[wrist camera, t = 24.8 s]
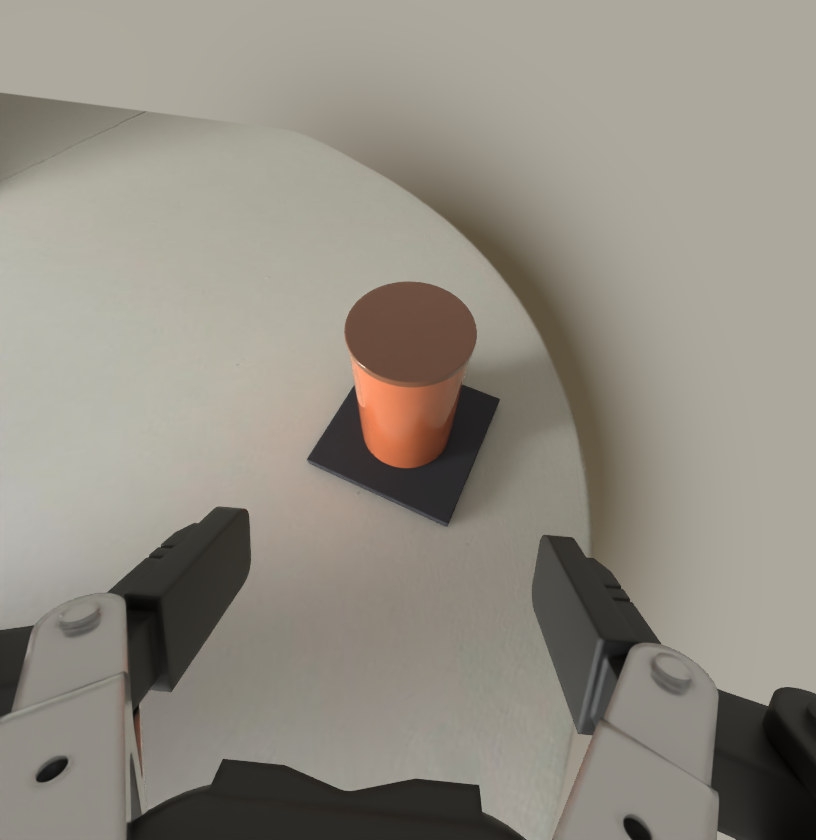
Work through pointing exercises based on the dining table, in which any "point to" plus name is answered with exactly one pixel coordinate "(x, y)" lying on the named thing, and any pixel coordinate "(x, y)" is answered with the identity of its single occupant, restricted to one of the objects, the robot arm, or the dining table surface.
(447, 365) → the canister
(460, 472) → the mat
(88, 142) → the dining table surface
